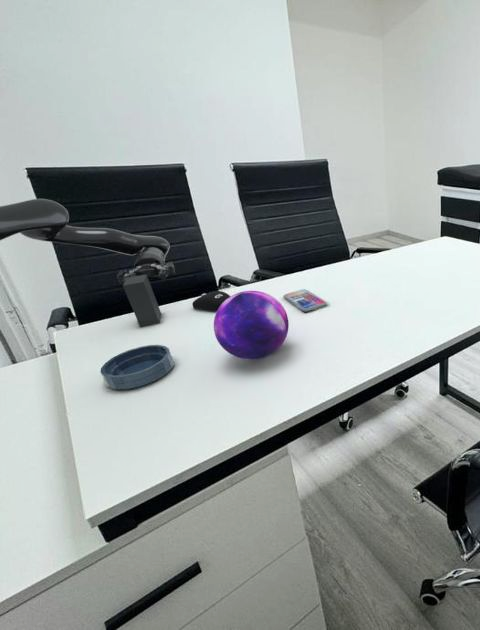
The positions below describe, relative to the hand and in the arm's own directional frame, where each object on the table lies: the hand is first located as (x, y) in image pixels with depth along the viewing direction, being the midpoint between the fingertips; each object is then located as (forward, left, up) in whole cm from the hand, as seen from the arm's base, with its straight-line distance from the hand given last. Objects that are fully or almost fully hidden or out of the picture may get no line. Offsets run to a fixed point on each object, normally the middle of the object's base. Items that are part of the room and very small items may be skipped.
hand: (144, 280), depth 111 cm
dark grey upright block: (+2, -11, -8) cm, 14 cm away
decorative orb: (+32, -41, -8) cm, 53 cm away
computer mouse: (+18, -8, -8) cm, 21 cm away
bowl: (+8, -40, -8) cm, 42 cm away
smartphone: (+43, -15, -8) cm, 46 cm away
